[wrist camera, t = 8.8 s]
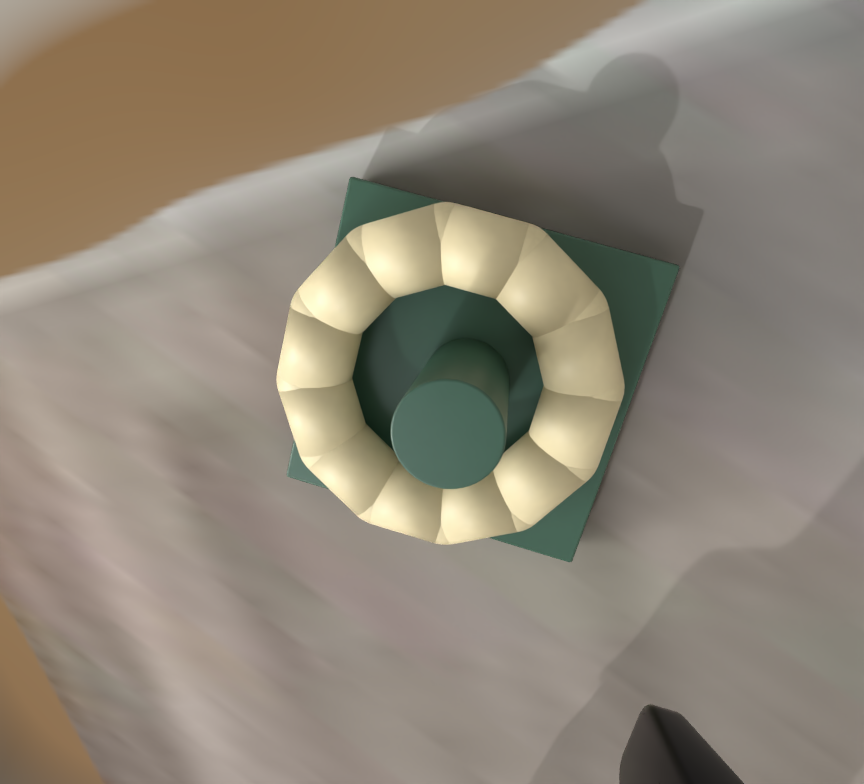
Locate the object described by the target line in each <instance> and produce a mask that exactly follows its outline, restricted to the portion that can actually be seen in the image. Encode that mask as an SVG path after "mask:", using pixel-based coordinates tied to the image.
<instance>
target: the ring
mask: <svg viewBox="0 0 864 784" xmlns="http://www.w3.org/2000/svg"><path fill="white" fill-rule="evenodd" d="M443 285H447V286H451V287H455V288H458V289H462V290H465V291H469V292H472V293H476V294H480V295H483V296H487V297H490V298H494V299H496V300H497V301H498V302H499V303H500V304H501V305H502V306H503V307H504V308H505V309H506V310H507V311H508V312H509V313H510V314H511V315H512V316H513V317H514V318H515V319H516V320H517V321H518V322H519V323H520V324H521V325H522V326H523V328H524V329H525V330H526V331H527V332H528V333H529V334H530V335H531V336H532V338H533V342H534V346H535V350H536V355H537V359H538V363H539V367H540V371H541V376H542V380H543V384H544V386H543V389H542V392H541V395H540V398H539V401H538V404H537V408H536V411H535V414H534V417H533V420H532V423H531V426H530V429H529V431H528V432H527V433H526V434H525V435H523V436H522V437H521V438H520V439H519V440H518V441H517V442H515V443H514V444H513V445H512V446H511V447H510V448H509V449H507V450H506V451H505V452H504V453H503V455H502V458H501V460H500V461H499V463H498V465H497V466H496V467H495V469H494V470H493V471H492V472H491V473H490V474H489V475H488V476H487V477H485V478H484V479H483V480H481V481H479V482H478V483H476V484H473V485H471V486H468V487H464V488H459V489H442V488H437V487H433V486H430V485H427V484H425V483H423V482H421V481H419V480H418V479H416V478H415V477H413V476H412V475H411V474H410V473H409V472H408V471H407V470H406V469H405V468H404V467H403V466H402V464H401V463H400V461H399V460H398V458H397V456H396V454H395V452H394V451H393V450H392V449H391V448H390V447H389V446H388V445H387V444H386V443H385V442H384V441H383V440H382V439H381V438H380V437H379V436H378V435H377V434H376V433H375V432H374V431H373V430H372V429H371V428H370V427H369V426H368V425H367V424H366V423H365V419H364V416H363V413H362V410H361V406H360V403H359V400H358V396H357V393H356V390H355V386H354V383H353V380H352V376H353V372H354V368H355V363H356V359H357V355H358V350H359V346H360V342H361V337H362V333H363V332H364V331H365V330H366V329H367V327H368V326H369V325H370V324H371V323H372V322H373V321H374V320H375V319H376V318H377V317H378V316H379V315H380V314H381V313H382V312H383V311H384V310H385V309H386V308H387V307H388V306H389V305H390V304H391V303H392V302H393V301H394V300H395V299H396V298H398V297H401V296H405V295H409V294H413V293H416V292H420V291H424V290H428V289H432V288H435V287H439V286H443ZM277 387H278V391H279V394H280V397H281V400H282V403H283V406H284V409H285V412H286V415H287V418H288V421H289V424H290V427H291V430H292V434H293V437H294V440H295V443H296V446H297V449H298V452H299V455H300V457H301V459H302V461H303V463H304V464H305V465H306V467H307V468H308V469H309V470H310V471H311V472H312V473H313V474H314V475H315V476H316V477H317V478H318V479H320V480H321V481H322V482H323V483H324V484H325V485H326V486H327V487H328V488H329V489H330V490H331V491H332V492H333V493H334V494H335V495H336V496H337V497H338V498H339V499H340V500H341V501H342V502H343V503H344V504H345V505H346V506H348V507H349V508H350V509H351V510H352V511H353V512H354V513H355V514H356V515H357V516H358V517H359V518H361V519H362V520H364V521H366V522H368V523H371V524H373V525H377V526H380V527H383V528H386V529H390V530H393V531H396V532H400V533H403V534H406V535H409V536H413V537H416V538H419V539H423V540H426V541H429V542H432V543H436V544H442V545H450V544H456V543H461V542H467V541H472V540H478V539H483V538H488V537H494V536H499V535H505V534H510V533H516V532H520V531H523V530H526V529H529V528H530V527H532V526H533V525H535V524H536V523H537V522H538V521H539V520H541V519H542V518H543V517H544V516H545V515H547V514H548V513H549V512H550V511H552V510H553V509H554V508H555V507H556V506H558V505H559V504H560V503H561V502H563V501H564V500H565V499H566V498H567V497H569V496H570V495H571V494H572V493H573V492H575V491H576V490H577V489H578V488H580V487H581V486H582V485H583V484H584V483H586V482H587V481H588V480H589V479H590V478H591V477H592V476H593V474H594V473H595V471H596V470H597V467H598V465H599V463H600V460H601V457H602V454H603V452H604V449H605V446H606V443H607V440H608V438H609V435H610V432H611V429H612V427H613V424H614V421H615V418H616V416H617V413H618V410H619V407H620V405H621V402H622V399H623V395H624V388H625V384H624V377H623V372H622V368H621V363H620V358H619V353H618V348H617V344H616V339H615V334H614V329H613V324H612V320H611V315H610V310H609V307H608V303H607V300H606V298H605V296H604V294H603V293H602V292H601V290H600V289H599V288H598V287H597V286H596V285H595V284H594V283H593V282H592V281H591V280H590V278H589V277H588V276H587V275H586V274H585V273H584V272H583V271H582V270H581V269H580V268H579V267H578V266H577V265H576V264H575V263H574V262H573V261H572V260H571V258H570V257H569V256H568V255H567V254H566V253H565V252H564V251H563V250H562V249H561V248H560V247H559V246H558V245H557V244H556V243H555V242H554V241H553V239H552V238H551V237H550V236H549V235H548V234H547V233H546V232H545V231H544V230H542V229H541V228H539V227H537V226H535V225H533V224H530V223H527V222H523V221H520V220H516V219H512V218H508V217H505V216H501V215H497V214H494V213H490V212H486V211H483V210H479V209H475V208H472V207H468V206H464V205H460V204H457V203H452V202H440V203H435V204H432V205H428V206H425V207H421V208H418V209H415V210H411V211H408V212H404V213H401V214H398V215H394V216H391V217H387V218H384V219H380V220H377V221H374V222H370V223H367V224H364V225H361V226H359V227H357V228H355V229H353V230H352V231H351V232H349V234H347V235H346V237H345V238H344V239H343V240H342V241H341V242H340V243H339V244H338V245H337V246H336V248H335V249H334V250H333V251H332V252H331V253H330V254H329V255H328V256H327V258H326V259H325V260H324V261H323V262H322V263H321V264H320V265H319V266H318V267H317V269H316V270H315V271H314V272H313V273H312V274H311V275H310V276H309V277H308V279H307V280H306V281H305V282H304V283H303V284H302V285H301V286H300V287H299V289H298V290H297V291H296V293H295V295H294V297H293V299H292V301H291V305H290V310H289V315H288V320H287V325H286V330H285V335H284V340H283V346H282V351H281V356H280V361H279V366H278V371H277Z"/></svg>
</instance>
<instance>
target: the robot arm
mask: <svg viewBox="0 0 864 784" xmlns="http://www.w3.org/2000/svg"><path fill="white" fill-rule="evenodd" d="M619 780H620V784H744V783H743V782H742V781H741V780H740V778H739V777H738V776H737V775H736V774H735V773H734V772H733V771H732V770H731V768H730V767H729V766H728V765H727V764H726V763H725V762H724V761H723V760H722V759H721V757H720V756H719V755H718V754H717V753H716V752H715V751H714V750H713V749H712V748H711V746H710V745H709V744H708V743H707V742H706V741H705V740H704V739H703V738H702V736H701V735H700V734H699V733H698V732H697V731H696V730H695V729H694V728H693V727H692V725H691V724H690V723H689V722H688V721H687V720H686V719H685V718H684V717H683V716H682V715H681V714H679V713H678V712H675V711H671V710H668V709H665V708H662V707H658V706H655V705H651V704H650V705H647V706H645V707H644V708H643V709H642V711H641V712H640V714H639V717H638V719H637V722H636V724H635V726H634V729H633V731H632V734H631V736H630V739H629V741H628V743H627V746H626V748H625V751H624V753H623V756H622V760H621V765H620V774H619Z"/></svg>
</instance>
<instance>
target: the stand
mask: <svg viewBox="0 0 864 784" xmlns="http://www.w3.org/2000/svg"><path fill="white" fill-rule="evenodd" d="M440 202H444V201H440V200H436V199H433V198H429V197H425V196H422V195H418V194H414V193H411V192H407V191H403V190H400V189H396V188H392V187H388V186H385V185H381V184H377V183H374V182H370V181H366V180H363V179H359V178H355V177H350V179H349V184H348V188H347V193H346V198H345V202H344V207H343V212H342V217H341V221H340V226H339V231H338V235H337V240H336V245H335V248H336V246H337V245H338V244H339V243H340V242H341V241H342V240H343V239H344V238H345V237H346V235H347V234H349V232H351V231H352V230H353V229H355V228H357V227H359V226H361V225H364V224H367V223H370V222H374V221H377V220H380V219H384V218H387V217H391V216H394V215H398V214H401V213H404V212H408V211H411V210H415V209H418V208H421V207H425V206H428V205H432V204H435V203H440ZM539 228H540V227H539ZM541 229H542V230H544V231H545V232H546V233H547V234H548V235H549V236H550V237H551V238H552V239H553V241H554V242H555V243H556V244H557V245H558V246H559V247H560V248H561V249H562V250H563V251H564V252H565V253H566V254H567V255H568V256H569V257H570V258H571V260H572V261H573V262H574V263H575V264H576V265H577V266H578V267H579V268H580V269H581V270H582V271H583V272H584V273H585V274H586V275H587V276H588V277H589V278H590V280H591V281H592V282H593V283H594V284H595V285H596V286H597V287H598V288H599V289H600V290H601V292H602V293H603V294H604V296H605V298H606V300H607V303H608V307H609V310H610V315H611V320H612V324H613V329H614V334H615V339H616V344H617V348H618V353H619V358H620V363H621V368H622V372H623V377H624V384H625V388H624V395H623V399H622V402H621V405H620V407H619V410H618V413H617V416H616V418H615V421H614V424H613V427H612V429H611V432H610V435H609V438H608V440H607V443H606V446H605V449H604V452H603V454H602V457H601V460H600V463H599V465H598V467H597V470H596V471H595V473H594V474H593V476H592V477H591V478H590V479H589V480H588V481H587V482H586V483H584V484H583V485H582V486H581V487H580V488H578V489H577V490H576V491H575V492H573V493H572V494H571V495H570V496H569V497H567V498H566V499H565V500H564V501H563V502H561V503H560V504H559V505H558V506H556V507H555V508H554V509H553V510H552V511H550V512H549V513H548V514H547V515H545V516H544V517H543V518H542V519H541V520H539V521H538V522H537V523H536V524H535V525H533V526H532V527H530V528H529V529H526V530H523V531H520V532H516V533H510V534H505V535H499V536H494V537H488V538H491V539H495V540H498V541H501V542H505V543H508V544H511V545H514V546H518V547H521V548H524V549H528V550H531V551H534V552H538V553H541V554H544V555H547V556H551V557H554V558H557V559H561V560H564V561H567V562H572V560H573V557H574V555H575V552H576V549H577V546H578V544H579V541H580V538H581V536H582V533H583V530H584V527H585V525H586V522H587V519H588V516H589V514H590V511H591V508H592V506H593V503H594V500H595V497H596V495H597V492H598V489H599V486H600V484H601V481H602V478H603V476H604V473H605V470H606V467H607V465H608V462H609V459H610V456H611V454H612V451H613V448H614V446H615V443H616V440H617V437H618V435H619V432H620V429H621V426H622V424H623V421H624V418H625V416H626V413H627V410H628V407H629V405H630V402H631V399H632V396H633V394H634V391H635V388H636V386H637V383H638V380H639V377H640V375H641V372H642V369H643V366H644V364H645V361H646V358H647V356H648V353H649V350H650V347H651V345H652V342H653V339H654V336H655V334H656V331H657V328H658V326H659V323H660V320H661V317H662V315H663V312H664V309H665V306H666V304H667V301H668V298H669V296H670V293H671V290H672V287H673V285H674V282H675V279H676V276H677V274H678V271H679V266H678V265H676V264H672V263H669V262H665V261H661V260H657V259H654V258H650V257H646V256H643V255H639V254H635V253H632V252H628V251H624V250H621V249H617V248H613V247H610V246H606V245H602V244H598V243H595V242H591V241H587V240H584V239H580V238H576V237H573V236H569V235H565V234H562V233H558V232H554V231H551V230H547V229H543V228H541ZM352 380H353V383H354V386H355V390H356V393H357V396H358V400H359V403H360V406H361V410H362V413H363V416H364V419H365V423H366V424H367V425H368V426H369V427H370V428H371V429H372V430H373V431H374V432H375V433H376V434H377V435H378V436H379V437H380V438H381V439H382V440H383V441H384V442H385V443H386V444H387V445H388V446H389V447H390V448H391V449H392V450H393V451H394V452H395V454H396V456H397V458H398V460H399V461H400V463H401V464H402V466H403V467H404V468H405V469H406V470H407V471H408V472H409V473H410V474H411V475H412V476H413V477H415V478H416V479H418V480H419V481H421V482H423V483H425V484H427V485H430V486H433V487H437V488H442V489H459V488H464V487H468V486H471V485H473V484H476V483H478V482H479V481H481V480H483V479H484V478H485V477H487V476H488V475H489V474H490V473H491V472H492V471H493V470H494V469H495V467H496V466H497V465H498V463H499V461H500V460H501V458H502V455H503V453H504V452H505V451H506V450H507V449H509V448H510V447H511V446H512V445H513V444H514V443H515V442H517V441H518V440H519V439H520V438H521V437H522V436H523V435H525V434H526V433H527V432H528V431H529V429H530V426H531V423H532V420H533V417H534V414H535V411H536V408H537V404H538V401H539V398H540V395H541V392H542V389H543V386H544V384H543V380H542V376H541V371H540V367H539V363H538V359H537V355H536V350H535V346H534V342H533V338H532V336H531V335H530V334H529V333H528V332H527V331H526V330H525V329H524V328H523V326H522V325H521V324H520V323H519V322H518V321H517V320H516V319H515V318H514V317H513V316H512V315H511V314H510V313H509V312H508V311H507V310H506V309H505V308H504V307H503V306H502V305H501V304H500V303H499V302H498V301H497V300H496V299H494V298H490V297H487V296H483V295H480V294H476V293H472V292H469V291H465V290H462V289H458V288H455V287H451V286H447V285H443V286H439V287H435V288H432V289H428V290H424V291H420V292H416V293H413V294H409V295H405V296H401V297H398V298H396V299H395V300H394V301H393V302H392V303H391V304H390V305H389V306H388V307H387V308H386V309H385V310H384V311H383V312H382V313H381V314H380V315H379V316H378V317H377V318H376V319H375V320H374V321H373V322H372V323H371V324H370V325H369V326H368V327H367V329H366V330H365V331H364V332H363V333H362V337H361V342H360V346H359V350H358V355H357V359H356V363H355V368H354V372H353V376H352ZM287 476H288V477H290V478H294V479H297V480H300V481H304V482H307V483H310V484H314V485H317V486H320V487H323V488H327V489H329V488H328V487H327V486H326V485H325V484H324V483H323V482H322V481H321V480H320V479H318V478H317V477H316V476H315V475H314V474H313V473H312V472H311V471H310V470H309V469H308V468H307V467H306V465H305V464H304V463H303V461H302V459H301V457H300V455H299V452H298V449H297V446H296V443H295V440H294V442H293V447H292V452H291V456H290V461H289V466H288V470H287Z"/></svg>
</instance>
